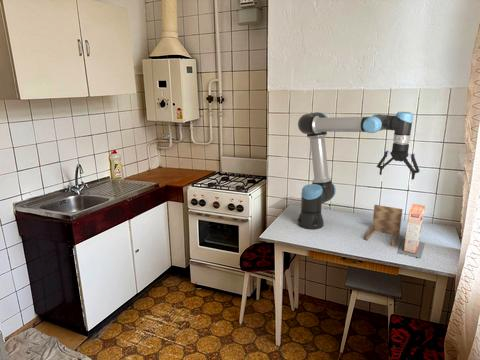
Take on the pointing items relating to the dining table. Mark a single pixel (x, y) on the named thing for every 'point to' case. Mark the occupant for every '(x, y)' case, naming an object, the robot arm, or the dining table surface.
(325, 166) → the robot arm
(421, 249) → the mat
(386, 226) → the brown wooden legged piece
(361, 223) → the dining table surface
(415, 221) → the cracker box
